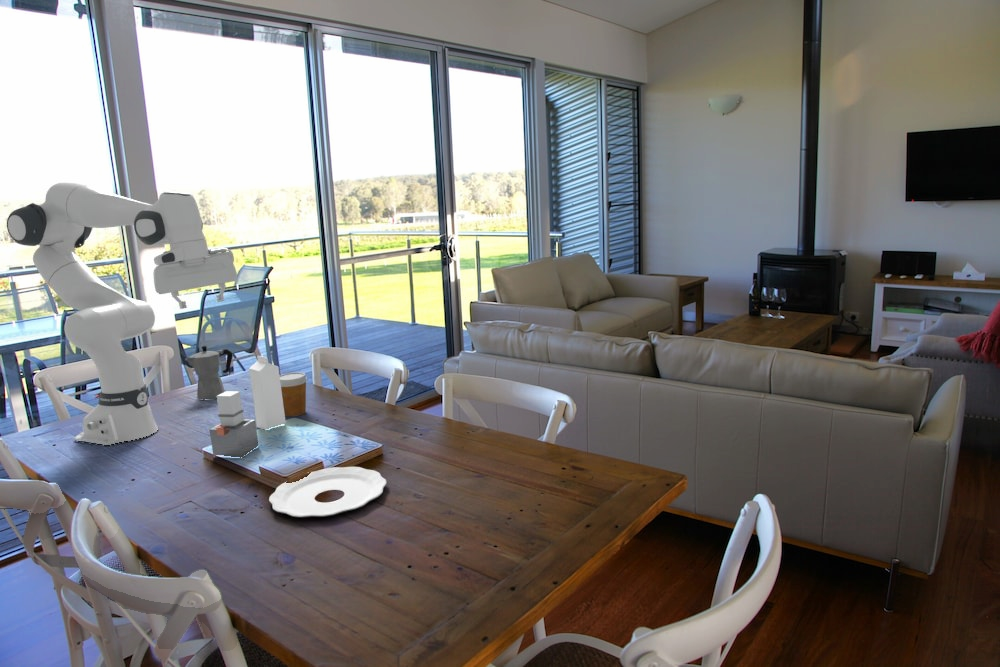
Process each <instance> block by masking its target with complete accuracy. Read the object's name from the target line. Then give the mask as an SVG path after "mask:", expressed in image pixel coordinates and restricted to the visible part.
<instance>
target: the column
mask: <svg viewBox="0 0 1000 667" xmlns="http://www.w3.org/2000/svg"><path fill="white" fill-rule="evenodd" d="M240 393H241V392H240V391H236V390H235V391H231V390H230V391H229V390H228V391H227V390H225V392H224V393H222V394H219V395H217V399H216V401H217V409H218V414H217V415H218V416H217V417H219V422H220V423H221V425H220V426H226V429H237V428H239V427H241V426H242V425H244V423H245V420H244V419H245V418H244V413H243V412H244V409H243V405H242V398H241V394H240ZM220 423H219V424H220Z"/></svg>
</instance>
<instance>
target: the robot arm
mask: <svg viewBox="0 0 1000 667" xmlns="http://www.w3.org/2000/svg"><path fill="white" fill-rule="evenodd" d="M203 225H204V222H203V219H202V217H201V213H200V209H199V205H198V203H197V201H196V199H195V197H194V195H193V194H192V193H190V192H188V191H181V190H180V191H173V190H172V191H171V190H170V191H163V192H162V193H160V194H159V197H158V199H157V200H156V202H154V203H153V204H152V203H148V202H143V201H138V200H135V199H133V198H128V197H125V196H122V195H118V194H115V193H112V192H109V191H106V190H103V189H100V188H98V187H97V188H96V187H94V186H90V185H86V184H81V183H77V182H75V183H74V182H58V183H55V184H53V185H51V186H50V188H48V190H47V191H46V194H45V199H44V202H43V203H40V204H36V203H35V202H32V203H29V204H28V205H25V206H23V207H19V208H17V209H15V210H13V211H11V212H10V214H9V215H8V217H7V220H6V229H7V232H8V234H9V237H10V238H11V239H12V240H13V241H14V242H15V243H16V244H18V245H21V246H26V247H27V246H28V247H36V246H38V248H37V249H35V251H34V253H33V255H32V261H33V264H34V266H35V268H36V270H37V271H38V273H39V275H40V276H41V277H42V279H43V280H44V282H45V283H46V284H47V285H48V286H49V287H50V288H51V290H52V291H53V292H54V293H55V294H56V295H57V296H58V298H60V300H62V302H63V303H64V304H65V305H67V306H68V307H69V308H71V309H74V310H77V312H75V313H73V314H70V315H69V316H68V317H67V318H66V320H65V323H64V326H63V331H64V335H65V337H66V339H67V341H69V342H70V343H71V345H73V346H74V347H75V348H78V349H81V350H82V351H84V353H86V354H87V355H88V356H89V358H90V359H91V360H92V362H93V364H94V365H95V368H96V372H97V376H98V380H99V385H100V389H101V391H100V392H98V393H96V394H94V395H93V396H94V399H98V402H97V403H98V404H97V405H96V406H95V407H94V408H93V409H92V410H91V411H90V412H88V413H87V414H86V416H85V417H84V418H83V420H82V432H80V433H78V434H77V435H76V436H75V437H74V441H75V440H81V441H86V442H91V443H97V444H103V445H102V446H104V445H110V446H112V445H111V444H114V445H116V444H115V443H118V444H120V443H119V442H122V443H125V442H124V441H128V442H132V441H131V440H133V441H136V440H135V439H137V440H140V439H139V438H141V439H144V438H147V437H149V436H152V435H153V433H154V434H156V433H157V432H158V431H157V430H159V427H158V425H157V422H156V420H155V418H154V416H153V411H152V408H151V405H150V403H149V393H148V386H147V384H146V383H145V381H144V380H145V379H144V373H143V367H142V362H141V360H140V359H139V358H138V357H137V356H136V355H134V354H132V353H127V351H125V349H124V347H123V345H122V341H125V340H129V339H133V338H136V337H139V336H141V335H143V334H145V333H147V332H148V331H150V330H152V328H153V327H154V326H155V323H156V322H155V321H156V316H155V312H154V310H153V308H152V307H151V305H150V304H149V303H147V302H146V301H144V300H141V299H136V298H132V297H131V296H128V295H126V294H124V293H121V292H120V291H118V290H116V289H114V288H113V287H111V286H110V285H108V284H106V283H105V282H104V281H103V280H102V279H100V278H99V276H97V274H95V272H93V270H92V269H91V268H90V267H89V266H88V265H87V263H85V261H84V260H82V259H81V258H80V257H79V255H77V253H76V250H75V249H79V248H81V247H83V246H84V245H85V242H86V240H87V239H88V238H90V236H91V233H92V231H93V229H94V228H95V229H107V228H117V227H125V226H133V227H134V228H133V229H134V232H135V235H136V236H137V238H138V240H140V242H142V243H143V244H144V245H147V246H163V245H164V246H165V245H169V248H170V249H169V250H166V251H164V252H162V253H161V254H159V255H157V256H154V258H153V261H154V265H156V266H155V267H154V269H153V284H154V290H155V292H156V293H157V294H159V295H165V294H171V295H172V298H173V299H174V300H175V301H176V302H177V303H178V306H179V309H180V310H182V309H186V308H188V306H187V302H186V301H185V300H183V301H182V299H180V298H179V296H180V294H179V292H183V291H187V290H192V289H193V290H194V289H199V288H203V287H209V286H215V285H218V288H219V289H220V290H219V294H216V296H215V297H216V301H217V302H225V298H224V294H225V290H226V288H227V287H226V283H232V282H236V281H237V280H238V272H237V270H236V267H235V265H234V264H235V263H234V261H235V257H234V254H233V251H232V250H231V249H228V248H226V247H221V248H217V249H214V248H213V249H209V247H208V244H207V243H208V242H207V239H206V236H205V234H204V233H203V228H204V227H203ZM151 434H152V435H151ZM146 436H147V437H146ZM143 437H144V438H143ZM91 443H90V444H91ZM97 444H96V445H97Z"/></svg>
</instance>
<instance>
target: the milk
mask: <svg viewBox="0 0 1000 667" xmlns="http://www.w3.org/2000/svg"><path fill="white" fill-rule="evenodd" d="M256 359H257V361H255V363H253V364H252V365H250V367H249V368H248V371H249V372H248V373H249V378H250V386H251V393H252V400H253V408H254V414H255V422H256V428H258V429H261V430H263V429H269V428H271V427H275V426H278V425H281V424H285V423H287V422H286V415H285V413H284V406H283V398H282V390H281V383H280V375H281V374H280V368H279V366H278V365H275V364H273V363H270V362H269V359H268V357H267V356H266V357H265V356H261V355H257V356H256Z"/></svg>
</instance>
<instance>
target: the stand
mask: <svg viewBox="0 0 1000 667" xmlns="http://www.w3.org/2000/svg"><path fill="white" fill-rule="evenodd" d="M243 419H244V420H245V423H244V425H242V426H241V427H239V428H237V429H226V426H220V425H221V423H219V424H217V425H215V426H213V427H212V428H210V429H208V430H209V435H210V436H209V437H210V442H211V448H212V449H211V450H212V455H213V458H214V459H216V458H215V456H216V455H224V456H231V457H240V458H241V457H243V456H244V455H246V454H247V453H248V452H250V451H251V450H253V449H254V448H256V447H257V446H258V445H259V439H258V438H259V437H258V432H257V423H256V419H247V418H243ZM259 446H260V445H259Z"/></svg>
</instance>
